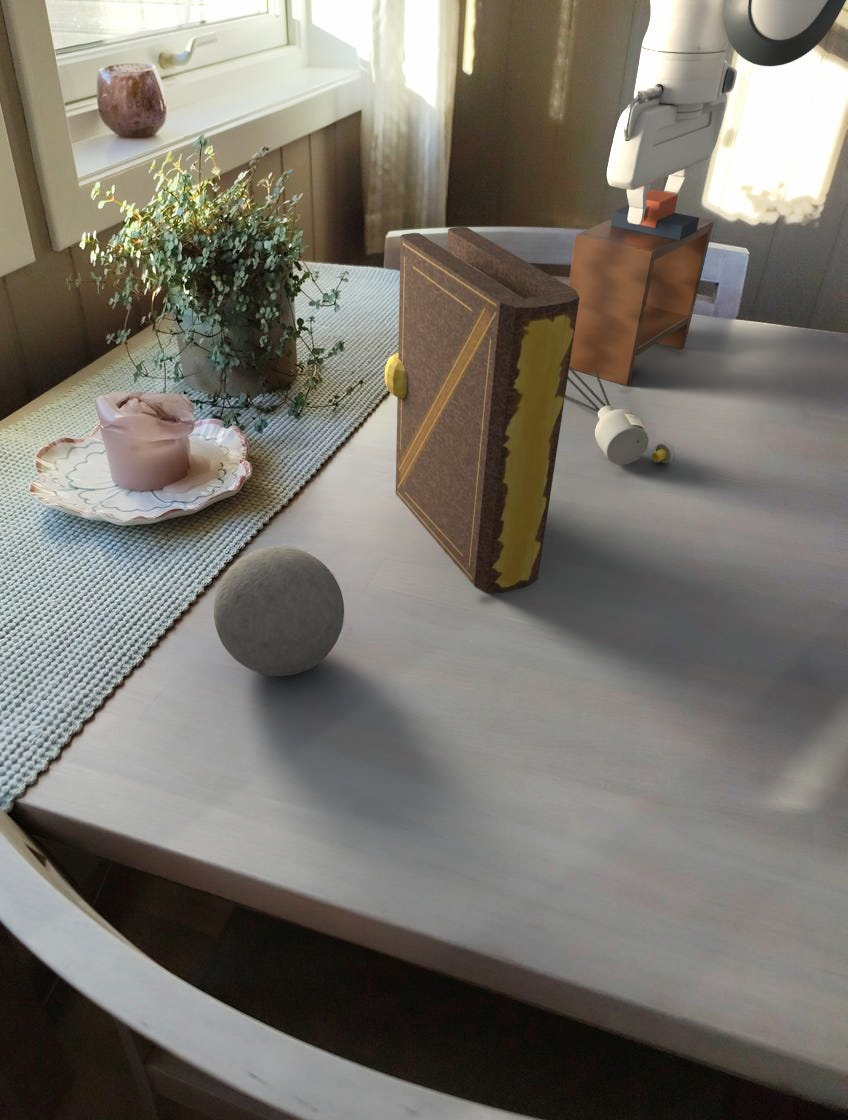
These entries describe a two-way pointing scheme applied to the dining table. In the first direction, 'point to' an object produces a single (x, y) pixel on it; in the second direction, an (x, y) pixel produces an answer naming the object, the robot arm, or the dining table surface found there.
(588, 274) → the rack
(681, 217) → the cube on dark base
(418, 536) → the dining table surface
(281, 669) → the decorative ball
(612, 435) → the reed diffuser
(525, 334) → the book
